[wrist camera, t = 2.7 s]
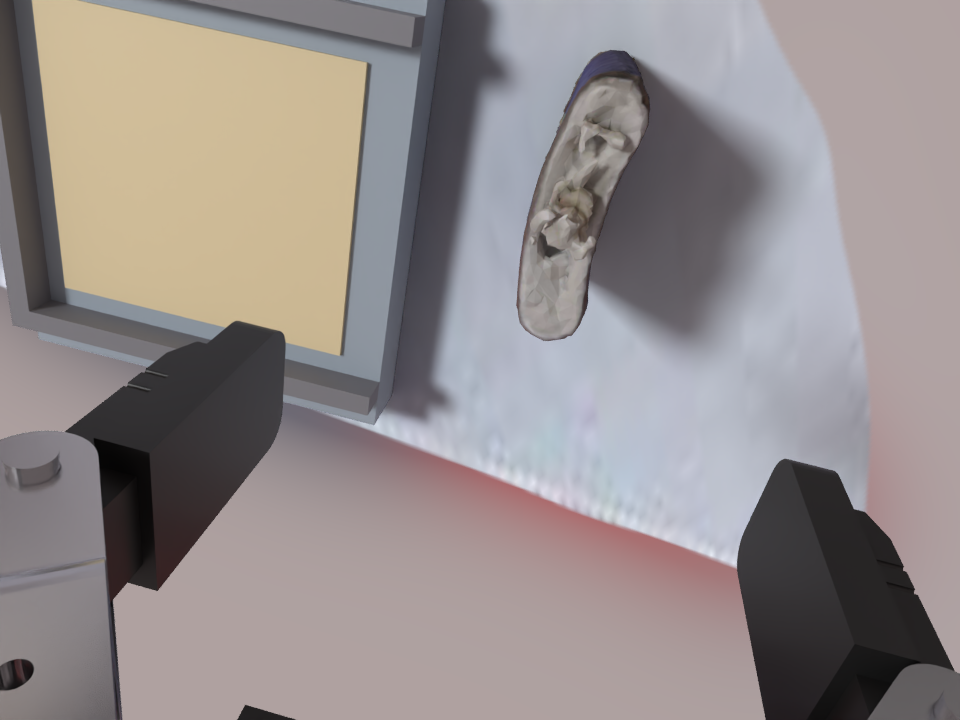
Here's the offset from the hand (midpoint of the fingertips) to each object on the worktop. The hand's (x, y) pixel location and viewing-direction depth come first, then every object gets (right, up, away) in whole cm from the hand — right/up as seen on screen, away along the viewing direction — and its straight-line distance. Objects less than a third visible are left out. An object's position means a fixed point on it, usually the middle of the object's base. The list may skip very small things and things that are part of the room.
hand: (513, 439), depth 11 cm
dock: (-12, +10, +22) cm, 27 cm away
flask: (+4, +10, +19) cm, 22 cm away
